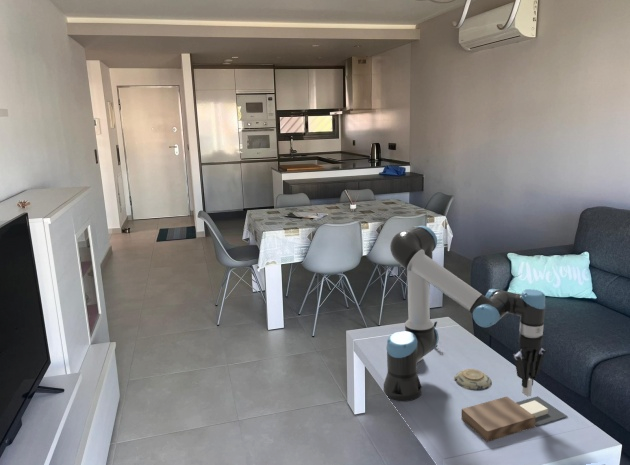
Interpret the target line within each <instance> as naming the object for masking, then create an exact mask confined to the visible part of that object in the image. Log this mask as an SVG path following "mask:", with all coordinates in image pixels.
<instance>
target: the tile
mask: <svg viewBox="0 0 630 465" xmlns="http://www.w3.org/2000/svg"><path fill="white" fill-rule="evenodd" d="M520 406H521V407H522V408H524V409H525V410H527V411H528V412H529V413H531V414H532V415H534V416H535V418H536V417H539V416H542V415H545V414H548V408H546V407H545V406H543V405H541V404H540V403H538V402H537V401H535V400H534V401H531V402H528V403H525V404H522V405H520Z"/></svg>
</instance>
